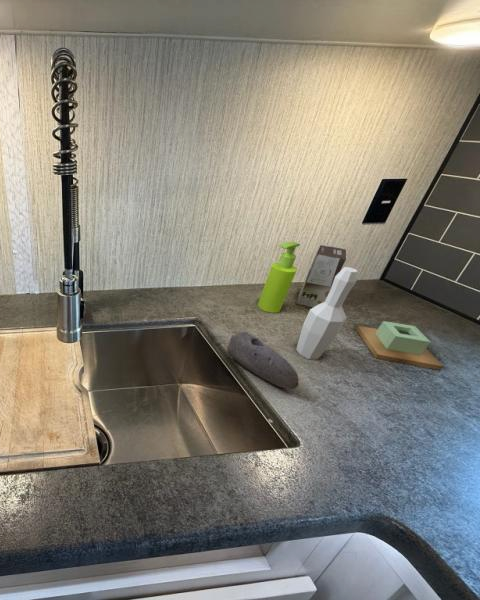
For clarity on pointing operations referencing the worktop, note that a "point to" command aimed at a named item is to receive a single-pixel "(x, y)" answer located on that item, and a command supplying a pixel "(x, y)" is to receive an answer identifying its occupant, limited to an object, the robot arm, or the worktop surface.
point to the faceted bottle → (326, 317)
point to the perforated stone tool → (262, 360)
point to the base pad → (382, 353)
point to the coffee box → (321, 275)
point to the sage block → (402, 338)
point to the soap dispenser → (279, 280)
